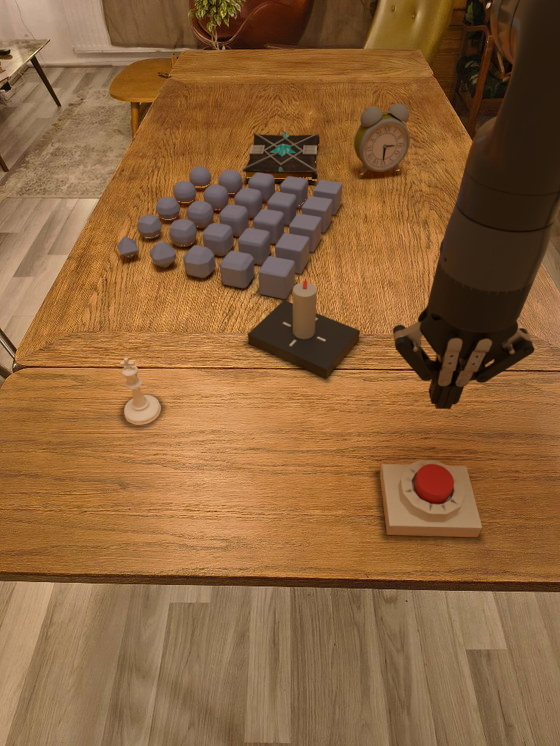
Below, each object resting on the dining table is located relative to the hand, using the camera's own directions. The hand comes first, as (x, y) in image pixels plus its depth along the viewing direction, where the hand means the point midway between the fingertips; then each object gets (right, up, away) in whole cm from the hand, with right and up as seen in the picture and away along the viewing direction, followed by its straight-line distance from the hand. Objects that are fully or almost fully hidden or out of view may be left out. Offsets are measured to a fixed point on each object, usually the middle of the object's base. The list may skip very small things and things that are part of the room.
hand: (441, 402), depth 53 cm
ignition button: (0, -10, +4) cm, 11 cm away
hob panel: (-13, +8, +27) cm, 31 cm away
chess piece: (-36, -2, +17) cm, 40 cm away
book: (-16, +53, +71) cm, 90 cm away
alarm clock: (+6, +50, +67) cm, 84 cm away
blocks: (-26, +31, +50) cm, 64 cm away
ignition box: (0, -12, +7) cm, 14 cm away
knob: (-13, +9, +25) cm, 30 cm away
